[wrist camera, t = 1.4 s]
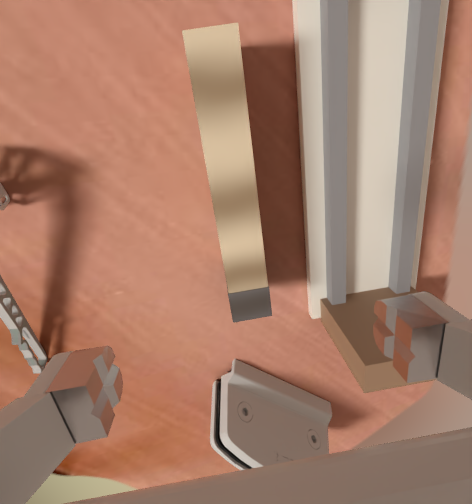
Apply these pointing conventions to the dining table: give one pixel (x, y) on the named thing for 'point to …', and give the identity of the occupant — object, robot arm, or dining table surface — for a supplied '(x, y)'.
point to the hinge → (266, 419)
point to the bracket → (19, 319)
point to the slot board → (365, 160)
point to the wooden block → (229, 163)
